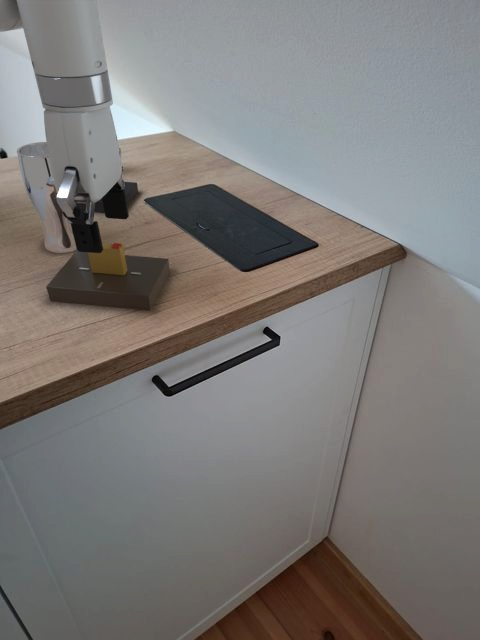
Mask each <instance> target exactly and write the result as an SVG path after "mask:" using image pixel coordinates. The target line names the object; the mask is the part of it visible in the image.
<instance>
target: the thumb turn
mask: <svg viewBox="0 0 480 640" xmlns="http://www.w3.org/2000/svg"><path fill="white" fill-rule="evenodd" d="M102 245H103V251H102V252H101V253H89V252H88V255H89V260H90V264H91V269H92V273H103V274H114V275H125V274H126V272H127V264H126V258H125V255H126V253H125V247H124V244H122V243H119V242H113V243H106V242H102Z"/></svg>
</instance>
